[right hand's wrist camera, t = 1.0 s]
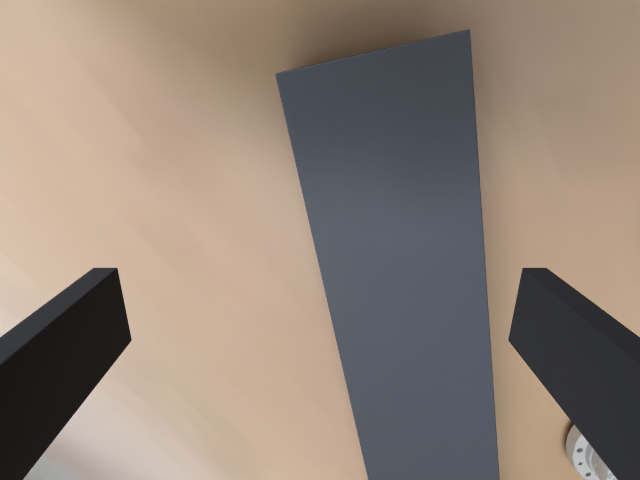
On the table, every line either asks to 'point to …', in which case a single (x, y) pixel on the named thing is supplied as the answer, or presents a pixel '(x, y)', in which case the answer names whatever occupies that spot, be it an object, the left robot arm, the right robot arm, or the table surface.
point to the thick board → (402, 250)
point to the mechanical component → (586, 458)
